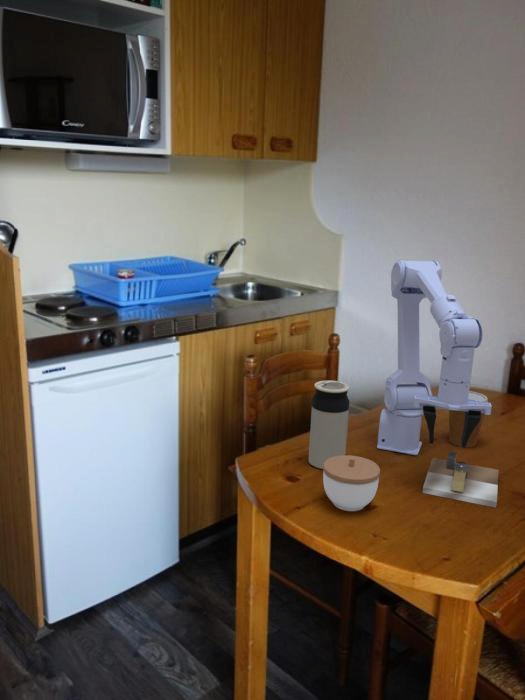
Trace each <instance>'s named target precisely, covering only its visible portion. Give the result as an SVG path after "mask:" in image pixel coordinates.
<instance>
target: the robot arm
mask: <svg viewBox="0 0 525 700" xmlns="http://www.w3.org/2000/svg"><path fill="white" fill-rule="evenodd" d="M442 272H443V270H442V266H441V265H440V263H439V262H438V261H437V260H404V259H403V260H402V259H398V260H396V261H395V263H393V266H392V269H391V272H390V289H391V297H393V298H394V299H396V300H397V305H396V306H397V370H396V371H395V372H393V373H391V375H389V376H388V377H387V379H386V381H385V388H384V392H383V400H384V404H385V408H384V407H383V408H382V410H381V413H380V416H379V417H380V419H379V424H378V425H379V426H378V435H377V444H376V445H377V446H376V449H380V450H385V451H389V452H397V453H401V454H407V455H412V456H418V455H419V453H420V450H421V448H422V445H423V444H422V443H423V442H422V441H420V437H421V426H422V419H423V418H422V417H423V416H424V419H425V422H426V424H427V428H428V443H429V444H430V445H433V444H434V442H435V441H434V438H435V425H436V419H437V409H438V410H448V411H449V410H456V411H465V420H464V429H463V434H462V440H461V445H462V447H461V448H462V449H463V448H467V447H466V445H467V442H468V440H469V437H470V435H471V433H472V432H473V430H474V429H475V427H476V426H477V425H478V423H479V422H480V420H481V413H484V416H485V415H487V416H491V415H492V407H493V406H492V403H491V402H488V403H487V402H481V401H476V400H471V399H468V396H469V391H470V387H471V379H472V372H473V364H474V363H473V362H474V356H475V349H477V348H479V347H480V345H481V343H482V341H483V336H484V330H483V326H482V324H481V321H480V319H479V318H478V317H477V318H476V317H472V316H470V315H469V316H468V314H467V313H466V311H465V310H464V308H463V307H462V304H460V302H459V300H458V299H457V298H456V297H455V295H452V294H448V293H447V291H446V289H445V286H444V285H443V282H442V276H443V275H442ZM424 299H428V300H429V302H430V303H431V304H430V307H429V311H430V314H431V316H432V318H433V319H434V320H435V322H436V324H437V326H438V328H439V342H440V355H441V356H442V359H441V368H440V375H439V382H438V383H439V384H438V391H437V392H438V393H437V395H433V393H432V389H431V385H430V384H431V381H430V379H429V377H427V375H425V374H424V373H423V372H421V371H420V360H421V359H420V303H421V302H422V300H424ZM403 383H406V384H403ZM407 383H409V384H407ZM411 383H414V384H411ZM415 383H416V384H415Z"/></svg>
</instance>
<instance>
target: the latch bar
mask: <svg viewBox="0 0 525 700" xmlns="http://www.w3.org/2000/svg"><path fill="white" fill-rule="evenodd" d="M469 465H470V464H469ZM469 465H468V463H467V462H463V461H456V462H455V464H454V471H453V481H452V489H451V490H454V491H459V492H463V489H464V483H465V479H466V478H467V474H468V466H469Z"/></svg>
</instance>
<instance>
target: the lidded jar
mask: <svg viewBox="0 0 525 700" xmlns="http://www.w3.org/2000/svg"><path fill="white" fill-rule="evenodd" d="M322 470H323V473H322V481H323V488H324V492H325V494H326V496H327V497H328V499H329V500H330V501H331V503H332V505H334V506H335V507H336V508H337V509H338V510H342V511H346V512H358V511H361V510H363V509H364V508H365V507H366V506H368V504H369V503H371V501H372V500H373V499H374V497H375V495H376V493H377V491H378V487H379V481H380V479H379V478H380V476H381V468H380V467H379V465H378V464H377V463H376V462H374V461H373V460H371V459H368V458H365V457H362V456H357V455H351V454H349V455H347V454H345V455H341V456H334V457H331V458H329V459H327V460H326V461H325V462H324V464H323V469H322Z"/></svg>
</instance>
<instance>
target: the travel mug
mask: <svg viewBox="0 0 525 700" xmlns="http://www.w3.org/2000/svg"><path fill="white" fill-rule="evenodd" d="M313 385H314V386H313V387H314V389H315V394H314V395H313V396H312V400H311V413H310V414H311V415H310V428H309V429H310V430H309V432H310V433H309V442H308V443H309V445H308V447H309V448H308V463H309V465H312V466H313V467H315V468H317V469H321V470H323V464H324V462H325V461H326V460H327V459H329V458H331V457H334V456H341V455H346V450H347V449H346V448H347V437H348V426H349V414H350V413H349V411H350V399H349V397H348V392H349V390H350V386H349V385H348V384H347V383H345V382H341V381H339V380H331V379H330V380H329V379H328V380H320V381H317V382H315V383H314V384H313Z"/></svg>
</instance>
